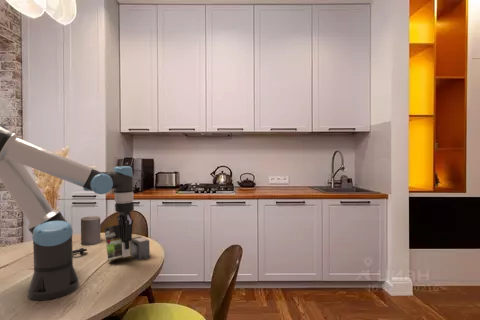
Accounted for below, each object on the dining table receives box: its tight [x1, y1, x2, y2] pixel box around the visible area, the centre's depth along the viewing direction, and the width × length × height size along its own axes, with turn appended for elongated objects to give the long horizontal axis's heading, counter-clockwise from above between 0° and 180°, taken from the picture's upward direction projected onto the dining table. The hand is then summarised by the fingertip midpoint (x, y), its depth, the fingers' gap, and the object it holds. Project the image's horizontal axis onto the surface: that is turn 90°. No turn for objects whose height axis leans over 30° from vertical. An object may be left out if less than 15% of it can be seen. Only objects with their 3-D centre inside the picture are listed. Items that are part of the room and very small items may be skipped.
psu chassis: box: [130, 233, 151, 261], centre depth 142 cm, size 6×15×8 cm, turn 42°
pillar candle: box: [80, 215, 101, 246], centre depth 164 cm, size 10×10×15 cm
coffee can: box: [103, 224, 132, 261], centre depth 136 cm, size 10×10×14 cm
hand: (126, 255), depth 130 cm, fingers closed
